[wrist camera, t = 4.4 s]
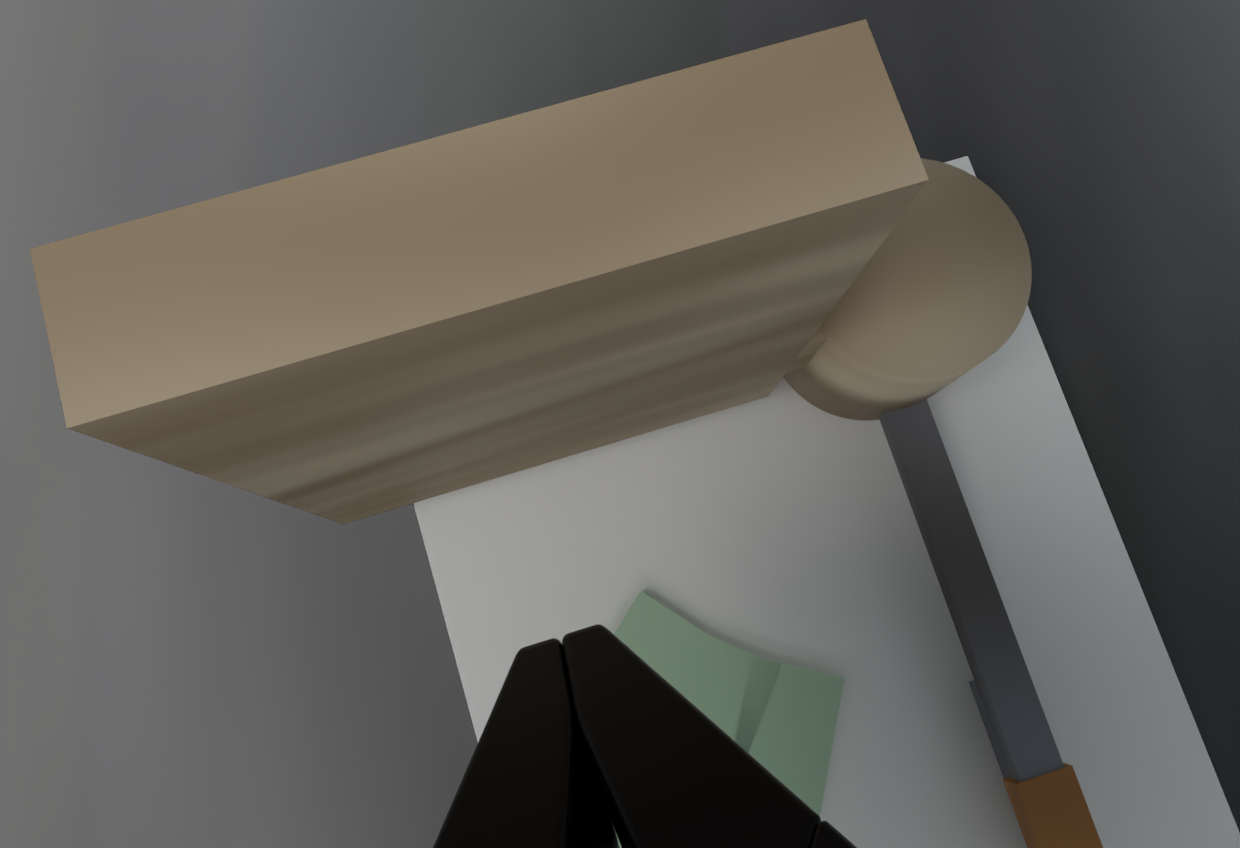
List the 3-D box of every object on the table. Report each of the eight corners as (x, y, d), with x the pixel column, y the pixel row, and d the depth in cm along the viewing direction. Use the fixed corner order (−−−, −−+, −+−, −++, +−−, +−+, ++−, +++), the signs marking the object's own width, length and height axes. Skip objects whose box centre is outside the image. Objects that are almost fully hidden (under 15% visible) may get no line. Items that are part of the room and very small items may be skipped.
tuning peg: (1158, 839, 15) (1842, 1117, 7) (490, 1069, 14) (329, 1702, 6) (916, 216, 17) (1218, -172, 9) (316, 390, 16) (9, 151, 8)
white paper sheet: (1220, 884, 16) (1282, 910, 15) (587, 1105, 16) (585, 1156, 14) (945, 184, 19) (973, 148, 17) (381, 347, 18) (362, 323, 16)
